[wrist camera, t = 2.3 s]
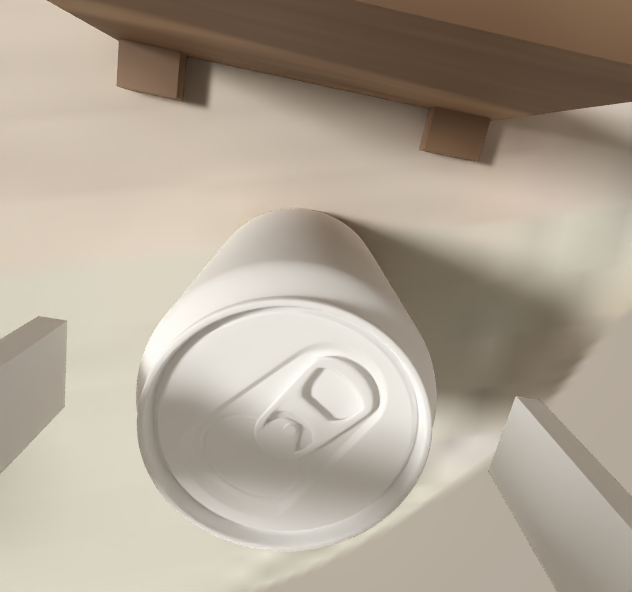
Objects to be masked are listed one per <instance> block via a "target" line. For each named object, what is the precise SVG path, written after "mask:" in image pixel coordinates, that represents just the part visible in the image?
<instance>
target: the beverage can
mask: <svg viewBox="0 0 632 592" xmlns="http://www.w3.org/2000/svg"><path fill="white" fill-rule="evenodd" d="M436 402H437V390H436V379H435V373H434V368H433V364H432V360H431V357H430V354H429V351H428V349H427V346H426V344H425V342H424V340H423V338H422V336H421V334H420V333H419V331H418V329H417V327H416V326H415V324H414V322H413V321H412V319H411V318H410V316H409V314H408V313H407V311H406V309H405V308H404V306H403V304H402V303H401V301H400V300H399V298H398V296H397V295H396V293H395V291H394V290H393V288H392V286H391V285H390V283H389V282H388V280H387V278H386V277H385V275H384V273H383V272H382V270H381V268H380V267H379V265H378V264H377V262H376V260H375V259H374V257H373V255H372V254H371V252H370V251H369V249H368V247H367V246H366V244H365V243H364V242H363V241H362V239H361V238H360V237H359V236H358V235H357V234H356V233H355V232H354V231H353V230H352V229H351V228H350V227H348V226H347V225H346V224H344V223H343V222H341V221H339V220H338V219H336V218H334V217H332V216H330V215H327V214H324V213H321V212H318V211H314V210H309V209H300V208H289V209H280V210H275V211H271V212H268V213H265V214H262V215H260V216H258V217H255V218H254V219H252V220H250V221H248V222H247V223H245V224H244V225H243V226H241V227H240V228H239V229H238V230H236V231H235V232H234V233H233V234H232V235H231V236H230V238H229V239H228V240H227V241H226V242H225V243H224V245H223V246H222V247H221V248H220V250H219V251H218V252H217V253H216V254H215V256H214V257H213V258H212V259H211V260H210V262H209V263H208V264H207V265H206V266H205V268H204V269H203V270H202V271H201V272H200V274H199V275H198V276H197V277H196V278H195V280H194V281H193V282H192V283H191V284H190V286H189V287H188V288H187V289H186V290H185V292H184V293H183V294H182V295H181V296H180V298H179V299H178V300H177V301H176V302H175V304H174V305H173V306H172V307H171V309H170V310H169V311H168V312H167V313H166V315H165V316H164V317H163V319H162V320H161V321H160V323H159V324H158V326H157V327H156V329H155V330H154V332H153V334H152V336H151V338H150V339H149V342H148V344H147V346H146V349H145V351H144V354H143V357H142V360H141V364H140V368H139V373H138V379H137V390H136V403H137V413H138V414H137V434H138V442H139V448H140V452H141V455H142V459H143V462H144V464H145V467H146V469H147V471H148V473H149V475H150V477H151V479H152V481H153V483H154V484H155V486H156V487H157V489H158V490H159V491H160V493H161V494H162V495H163V497H164V498H165V499H166V500H167V501H168V502H169V504H170V505H171V506H172V507H173V508H174V509H175V510H177V511H178V512H179V513H180V514H181V515H182V516H183V517H185V518H186V519H187V520H189V521H190V522H191V523H193V524H194V525H196V526H197V527H199V528H201V529H202V530H204V531H206V532H208V533H210V534H212V535H214V536H216V537H218V538H221V539H223V540H226V541H229V542H232V543H235V544H238V545H242V546H245V547H250V548H255V549H261V550H270V551H301V550H310V549H316V548H321V547H325V546H329V545H333V544H336V543H339V542H342V541H345V540H348V539H350V538H352V537H355V536H357V535H359V534H361V533H363V532H365V531H366V530H368V529H370V528H372V527H373V526H375V525H376V524H378V523H379V522H380V521H382V520H383V519H384V518H386V517H387V516H388V515H389V514H391V513H392V512H393V511H394V510H395V509H396V508H397V507H398V506H399V505H400V504H401V503H402V502H403V500H404V499H405V498H406V497H407V496H408V494H409V493H410V492H411V490H412V489H413V487H414V486H415V484H416V482H417V481H418V479H419V477H420V475H421V473H422V471H423V468H424V466H425V463H426V460H427V457H428V454H429V450H430V445H431V438H432V428H433V424H434V419H435V413H436Z"/></svg>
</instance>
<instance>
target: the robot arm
mask: <svg viewBox="0 0 632 592" xmlns="http://www.w3.org/2000/svg"><path fill="white" fill-rule="evenodd" d="M66 339H67V321H65V320H59V319H53V318H47V317H41V316H38V317H36V318H35V319H33V320H31V321H30V322H28V323H26V324H25V325H23V326H22V327H20V328H18V329H17V330H15V331H13V332H12V333H10V334H8V335H7V336H5V337H3V338H2V339H0V474H1V473H2V472H3V471H4V470H5V469H6V468H7V466H8V465H9V464H10V463H11V462H12V461H13V460H14V459H15V458H16V457H17V456H18V455H19V454H20V453H21V452H22V451H23V450H24V449H25V448H26V447H27V446H28V445H29V443H30V442H31V441H32V440H33V439H34V438H35V437H36V436H37V435H38V434H39V433H40V432H41V431H42V430H43V429H44V428H45V427H46V426H47V425H48V424H49V423H50V422H51V420H52V419H53V418H54V417H55V416H56V415H57V414H58V413H59V412H60V411H61V410H62V409H63V408H64V407H65V373H66ZM488 472H489V474H490V476H491V477H492V479H493V481H494V483H495V484H496V486H497V488H498V489H499V491H500V493H501V495H502V497H503V498H504V500H505V502H506V504H507V505H508V507H509V509H510V511H511V512H512V514H513V516H514V518H515V519H516V521H517V523H518V525H519V526H520V528H521V530H522V532H523V533H524V535H525V537H526V539H527V540H528V542H529V544H530V546H531V547H532V549H533V551H534V553H535V554H536V556H537V558H538V560H539V561H540V563H541V565H542V567H543V568H544V570H545V572H546V574H547V575H548V577H549V579H550V581H551V582H552V584H553V586H554V588H555V590H556V591H557V592H632V496H631V495H630V494H629V493H628V492H627V491H626V490H625V489H624V488H623V487H622V486H621V485H620V483H619V482H618V481H617V480H616V479H615V478H614V477H613V476H612V475H611V474H610V473H609V472H608V471H607V470H606V469H605V468H604V467H603V466H602V465H601V463H600V462H599V461H598V460H597V459H596V458H595V457H594V456H593V455H592V454H591V453H590V452H589V451H588V450H587V449H586V448H585V447H584V445H582V443H581V442H580V441H579V440H578V439H577V438H576V437H575V436H574V435H573V434H572V433H571V432H570V431H569V430H568V429H567V428H566V426H565V425H564V424H563V423H562V422H561V421H560V420H559V419H558V418H557V417H556V416H555V415H554V414H553V413H552V412H551V411H550V410H549V409H548V407H547V406H546V405H545V404H544V403H543V402H542V401H541V400H539V399H533V398H527V397H521V396H516V397H515V400H514V402H513V405H512V408H511V411H510V413H509V416H508V419H507V422H506V424H505V427H504V430H503V433H502V435H501V438H500V441H499V443H498V446H497V449H496V452H495V454H494V457H493V460H492V463H491V465H490V468H489V471H488Z"/></svg>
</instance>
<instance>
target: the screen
mask: <svg viewBox="0 0 632 592" xmlns="http://www.w3.org/2000/svg"><path fill="white" fill-rule="evenodd" d="M47 1H49V2H51V3H53V4H54V5H56V6H58V7H60V8H62V9H63V10H65V11H67V12H69V13H70V14H72V15H74V16H76V17H77V18H79V19H81V20H83V21H85V22H86V23H88V24H90V25H92V26H93V27H95V28H97V29H99V30H101V31H102V32H104V33H106V34H108V35H109V36H111V37H113V38H115V39H117V40H118V41H119V50H118V70H117V86H118V87H121V88H124V89H128V90H133V91H138V92H143V93H148V94H153V95H157V96H162V97H167V98H172V99H177V100H182V101H183V91H184V80H185V69H186V58H187V56H188V57H193V58H197V59H202V60H207V61H211V62H216V63H221V64H225V65H230V66H234V67H239V68H244V69H248V70H253V71H258V72H262V73H267V74H272V75H276V76H281V77H286V78H290V79H295V80H300V81H304V82H309V83H314V84H318V85H323V86H327V87H332V88H337V89H341V90H346V91H351V92H355V93H360V94H365V95H369V96H374V97H379V98H383V99H388V100H393V101H397V102H402V103H407V104H411V105H416V106H420V107H425V108H430V109H429V113H428V117H427V121H426V125H425V129H424V133H423V137H422V141H421V145H420V149H419V150H423V151H428V152H433V153H438V154H442V155H447V156H452V157H457V158H462V159H467V160H473V161H478V160H479V156H480V153H481V150H482V146H483V143H484V139H485V136H486V133H487V129H488V126H489V122H490V121H493V120H500V119H507V118H515V117H522V116H529V115H537V114H544V113H551V112H559V111H566V110H574V109H581V108H588V107H596V106H603V105H610V104H618V103H625V102H632V0H47Z"/></svg>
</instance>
